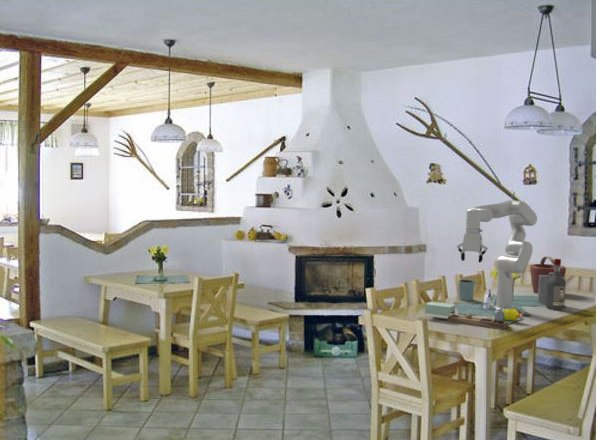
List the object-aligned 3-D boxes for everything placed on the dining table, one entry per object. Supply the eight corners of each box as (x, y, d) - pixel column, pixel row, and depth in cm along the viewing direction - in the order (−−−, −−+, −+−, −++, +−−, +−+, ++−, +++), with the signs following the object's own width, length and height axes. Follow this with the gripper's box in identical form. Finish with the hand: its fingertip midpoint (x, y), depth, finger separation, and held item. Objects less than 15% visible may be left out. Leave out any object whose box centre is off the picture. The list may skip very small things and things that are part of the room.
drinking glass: (468, 297, 439) (469, 279, 439) (477, 300, 430) (478, 281, 429) (454, 298, 436) (455, 279, 436) (463, 301, 427) (464, 282, 426)
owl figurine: (511, 311, 356) (484, 308, 365) (511, 328, 356) (483, 324, 366) (532, 305, 377) (506, 301, 387) (532, 320, 377) (505, 316, 387)
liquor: (543, 307, 412) (546, 258, 410) (555, 306, 416) (557, 258, 414) (555, 310, 404) (557, 260, 402) (566, 309, 408) (569, 259, 406)
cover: (430, 310, 381) (430, 301, 381) (455, 313, 374) (455, 304, 373) (424, 313, 373) (425, 304, 373) (449, 316, 366) (450, 307, 366)
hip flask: (564, 306, 419) (566, 273, 418) (562, 307, 416) (564, 274, 415) (538, 302, 430) (540, 270, 428) (536, 303, 426) (538, 271, 425)
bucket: (566, 297, 450) (568, 259, 448) (530, 295, 455) (532, 258, 453) (560, 291, 474) (562, 255, 472) (527, 289, 479) (529, 253, 477)
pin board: (452, 318, 374) (453, 310, 374) (508, 326, 359) (508, 318, 359) (447, 321, 367) (447, 313, 366) (503, 329, 351) (504, 321, 351)
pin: (495, 325, 360) (496, 310, 359) (503, 326, 358) (503, 311, 357) (493, 326, 357) (494, 311, 356) (501, 327, 354) (501, 312, 354)
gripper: (490, 231, 382) (488, 262, 383) (459, 229, 391) (458, 259, 392) (486, 232, 375) (484, 263, 377) (455, 230, 384) (454, 260, 386)
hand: (471, 261), depth 384 cm, fingers open, 9 cm apart
